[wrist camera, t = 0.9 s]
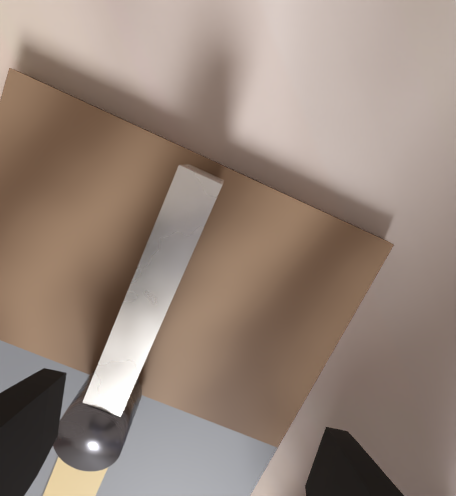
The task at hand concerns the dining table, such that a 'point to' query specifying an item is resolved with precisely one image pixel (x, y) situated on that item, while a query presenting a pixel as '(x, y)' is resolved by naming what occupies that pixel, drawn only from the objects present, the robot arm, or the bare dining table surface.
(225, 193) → the plate
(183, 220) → the lock bar
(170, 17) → the dining table surface
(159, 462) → the door plate
